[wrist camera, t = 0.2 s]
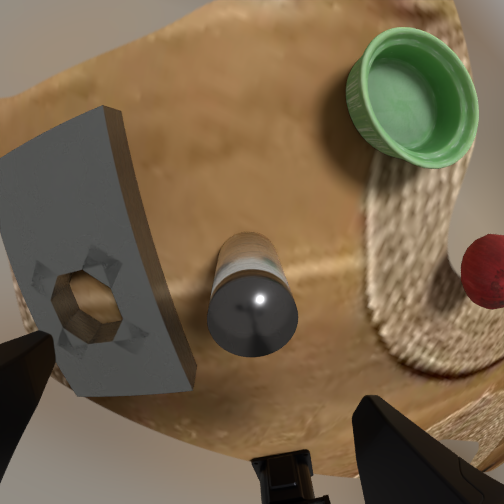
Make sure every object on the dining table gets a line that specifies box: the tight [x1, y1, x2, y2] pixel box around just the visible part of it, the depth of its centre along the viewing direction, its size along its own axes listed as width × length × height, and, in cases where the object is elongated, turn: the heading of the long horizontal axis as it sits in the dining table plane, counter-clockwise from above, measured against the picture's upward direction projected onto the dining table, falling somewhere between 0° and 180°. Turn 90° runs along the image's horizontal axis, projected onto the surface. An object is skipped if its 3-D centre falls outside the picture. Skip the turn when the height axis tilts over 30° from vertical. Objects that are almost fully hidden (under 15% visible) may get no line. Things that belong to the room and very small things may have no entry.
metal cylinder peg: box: [207, 232, 298, 357], centre depth 17 cm, size 4×4×8 cm
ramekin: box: [346, 27, 479, 169], centre depth 16 cm, size 9×9×4 cm
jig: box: [0, 105, 197, 397], centre depth 19 cm, size 20×11×3 cm, turn 12°
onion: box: [461, 234, 504, 309], centre depth 18 cm, size 6×6×8 cm
